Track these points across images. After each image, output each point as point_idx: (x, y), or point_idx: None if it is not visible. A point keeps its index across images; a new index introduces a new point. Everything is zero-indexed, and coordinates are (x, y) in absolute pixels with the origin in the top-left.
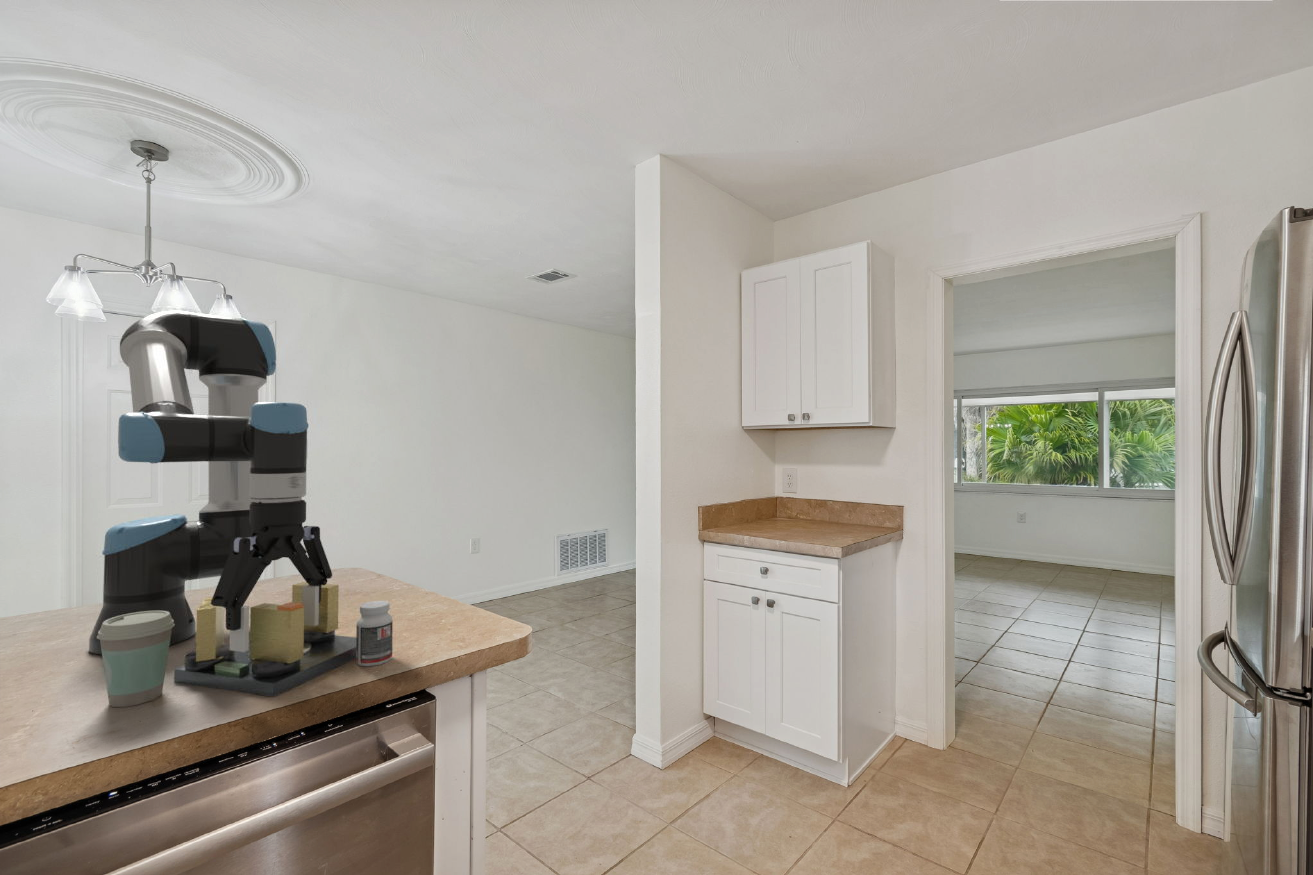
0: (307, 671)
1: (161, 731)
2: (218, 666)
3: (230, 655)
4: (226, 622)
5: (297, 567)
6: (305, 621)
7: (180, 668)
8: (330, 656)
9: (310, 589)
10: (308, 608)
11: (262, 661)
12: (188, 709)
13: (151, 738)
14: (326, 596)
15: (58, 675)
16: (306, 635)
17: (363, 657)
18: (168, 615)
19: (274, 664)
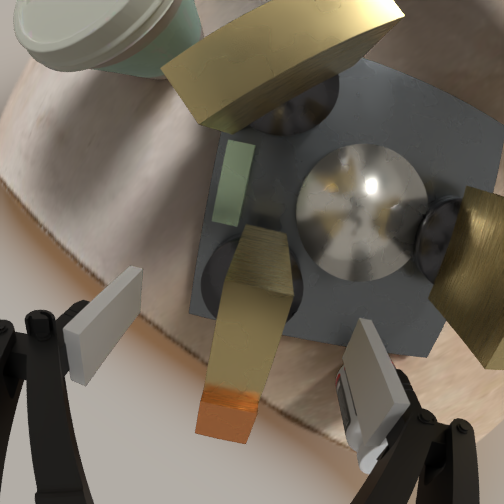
0: None
1: (70, 211)
2: (226, 151)
3: (287, 135)
4: (68, 312)
5: (372, 487)
6: (355, 336)
7: None
8: (336, 338)
9: (371, 424)
10: (361, 370)
11: (225, 272)
12: (131, 185)
13: (56, 216)
14: (475, 347)
15: None
16: (421, 253)
17: (338, 384)
18: (99, 29)
19: (210, 311)
